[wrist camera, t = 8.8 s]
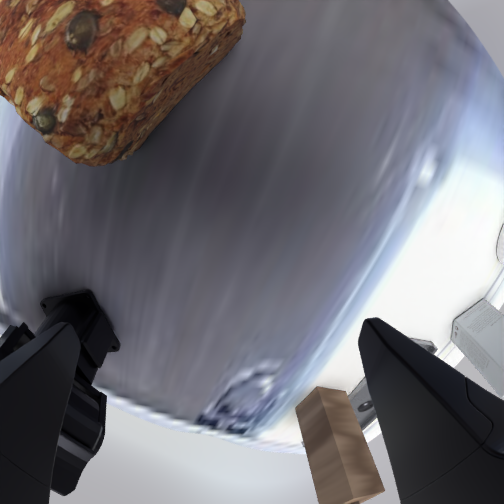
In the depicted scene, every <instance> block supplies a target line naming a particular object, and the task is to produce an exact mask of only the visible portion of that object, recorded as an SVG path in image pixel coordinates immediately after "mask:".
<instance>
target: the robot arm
mask: <svg viewBox="0 0 504 504" xmlns="http://www.w3.org/2000/svg"><path fill="white" fill-rule="evenodd" d="M86 295H87V296H88V297H89V298H88V297H87V296H86ZM40 305H41V307H42V309H43V311H44V313H45V314H46V316H47V318H46V319H45V320H44V322H43V323H42V324H41V326H40V327H39V329H38V330H37V331H36V333H35V334H33V333H32V332H31V331H30V330H29V329H28V326H27V325H26V324H25V323H24V322H23V323H22V325H21V326H20V327H19V328H18V327H17V326H16V327H15V326H12V325H10V326H9V327H8V329H7V330H6V331H5V332H4V334H3V335H2V336H1V338H0V504H49V497H50V490H52V491H54V492H56V493H58V494H60V495H62V496H66V495H68V494H69V493H71V492H72V491H74V490H75V488H76V485H77V483H78V480H79V478H80V476H81V473H82V471H83V469H84V468H85V466H86V464H87V463H88V461H89V460H90V459H91V458H93V457H94V456H95V455H96V453H97V452H98V451H99V449H100V447H101V445H102V442H103V439H104V435H105V420H106V402H107V396H106V395H105V394H104V393H102V392H99V391H98V390H97V389H95V388H94V387H93V386H91V385H92V382H93V380H94V377H95V375H96V372H97V370H98V368H101V366H102V364H103V361H104V359H105V357H106V354H107V352H117V351H119V349H120V344H119V342H118V340H117V339H116V337H115V335H114V333H113V331H112V330H111V328H110V326H109V324H108V322H107V320H106V319H105V317H104V315H103V313H102V311H101V309H100V308H99V306H98V304H97V302H96V300H95V298H94V295H93V294H92V292H90V291H89V290H84V291H79V292H75V293H70V294H65V295H60V296H55V297H51V298H46V299H43V300H42V301H41V303H40ZM115 346H116V347H115ZM358 346H359V351H360V355H361V359H362V364H363V368H364V373H365V378H366V382H367V386H368V390H369V394H370V397H371V400H372V403H373V406H374V409H375V412H376V415H377V418H378V422H379V425H380V428H381V431H382V435H383V438H384V441H385V445H386V448H387V451H388V455H389V459H390V462H391V466H392V470H393V474H394V477H395V482H396V486H397V490H398V494H399V498H400V501H401V502H400V503H401V504H504V400H502V399H500V398H498V397H497V396H495V395H493V394H492V393H490V392H488V391H487V390H485V389H484V388H482V387H480V386H479V385H478V384H476V383H475V382H473V381H471V380H470V379H469V378H467V377H465V376H464V375H463V374H461V373H460V372H458V371H457V370H456V369H454V368H453V367H451V366H450V365H448V364H447V363H445V362H444V361H442V360H441V359H439V358H438V357H436V356H435V355H434V354H432V353H431V352H429V351H428V350H426V349H425V348H423V347H422V346H420V345H419V344H417V343H416V342H414V341H413V340H411V339H410V338H408V337H407V336H405V335H404V334H402V333H401V332H399V331H398V330H396V329H395V328H393V327H392V326H390V325H389V324H387V323H386V322H384V321H383V320H381V319H380V318H377V317H375V318H367V319H365V320H364V322H363V325H362V328H361V332H360V336H359V339H358Z"/></svg>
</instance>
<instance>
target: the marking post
mask: <svg viewBox="0 0 504 504" xmlns="http://www.w3.org/2000/svg"><path fill="white" fill-rule="evenodd" d="M295 410H296V414H297V418H298V422H299V426H300V430H301V434H302V438H303V442H304V446H305V450H306V454H307V458H308V461H309V466H310V469H311V474H312V478H313V482H314V486H315V490H316V494H317V498H318V502H319V504H360V503H362V502H364V501H366V500H369V499H370V498H373V497H374V496H376V495H378V494H380V493H382V492H384V491H385V489H384V487H383V484H382V481H381V478H380V476H379V473H378V470H377V468H376V465H375V463H374V460H373V457H372V455H371V452H370V450H369V447H368V445H367V442H366V440H365V437H364V435H363V432H362V430H361V427H360V425H359V422H358V420H357V418H356V415H355V413H354V410H353V408H352V405H351V403H350V401H349V398H348V396H347V394H346V391H340V390H334V389H328V388H323V387H316V388H315V389H314V390H313V391H312V392H311V393H310V394H309V395H308V396H307V397H306V398H305V399H304V400H303V401H302V402H301V403H300V404H299V405H298V406H297V407H296V408H295Z"/></svg>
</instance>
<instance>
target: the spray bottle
mask: <svg viewBox="0 0 504 504" xmlns="http://www.w3.org/2000/svg"><path fill="white" fill-rule="evenodd" d="M497 256H498V259H499V261H500V262H501V263H502V264H503V265H504V225H503V227H502V230H501V232H500V236H499V239H498V245H497Z"/></svg>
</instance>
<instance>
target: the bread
mask: <svg viewBox="0 0 504 504" xmlns="http://www.w3.org/2000/svg"><path fill="white" fill-rule="evenodd" d="M245 15H246V14H245V10H244V7H243V6H242V5H241V3H240V2H239V0H0V95H1V96H3V97H5V99H6V100H7V101H8V102H9V103H10V104H12V105H14V106H15V108H16V112H17V113H18V114H19V115H20V117H21V118H22V119H23V120H24V121H25V122H26V123H27V124H29V125H30V126H31V127H32V128H34V129H35V130H36V131H38V132H39V133H40V134H41V135H42V136H43V138H44V141H45V142H46V143H47V144H49V145H51V146H52V147H54V148H56V149H57V150H59V151H60V152H61V153H63V154H64V155H65V156H66V157H68V158H69V159H70V160H72V161H73V162H75V163H76V164H77V163H83V164H85V165H88V166H93V167H95V166H104V165H106V164H108V163H113V162H115V161H117V160H118V159H119V160H121V161H122V160H126V159H127V155H133V152H134V151H136V150H138V149H139V148H140V147H141V146H142V144H143V143H144V141H145V140H146V139H147V138H148V136H149V134H150V133H151V132H152V131H153V130H154V129H155V128H156V127H157V126H158V125H159V123H160V122H161V121H162V120H163V119H164V118H165V117H166V116H167V115H168V113H169V112H170V111H171V110H172V108H173V107H174V106H175V105H176V104H177V103H178V102H179V101H180V100H181V99H182V98H183V97H184V96H185V95H186V94H187V93H188V92H189V90H190V89H191V88H192V87H193V86H194V85H195V84H196V83H198V82H199V81H200V80H201V79H202V78H203V77H204V76H205V75H206V74H207V73H208V72H209V71H210V70H211V69H212V68H213V67H214V66H215V65H217V64H218V63H219V62H220V61H221V60H222V59H223V58H224V57H225V56H226V55H227V54H228V52H229V51H230V50H231V49H232V48H233V47H234V45H235V44H236V43H237V42H238V41H239V40H240V39H241V35H242V34H243V29H242V26H243V25H244V24H245V23H246V20H245Z"/></svg>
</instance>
